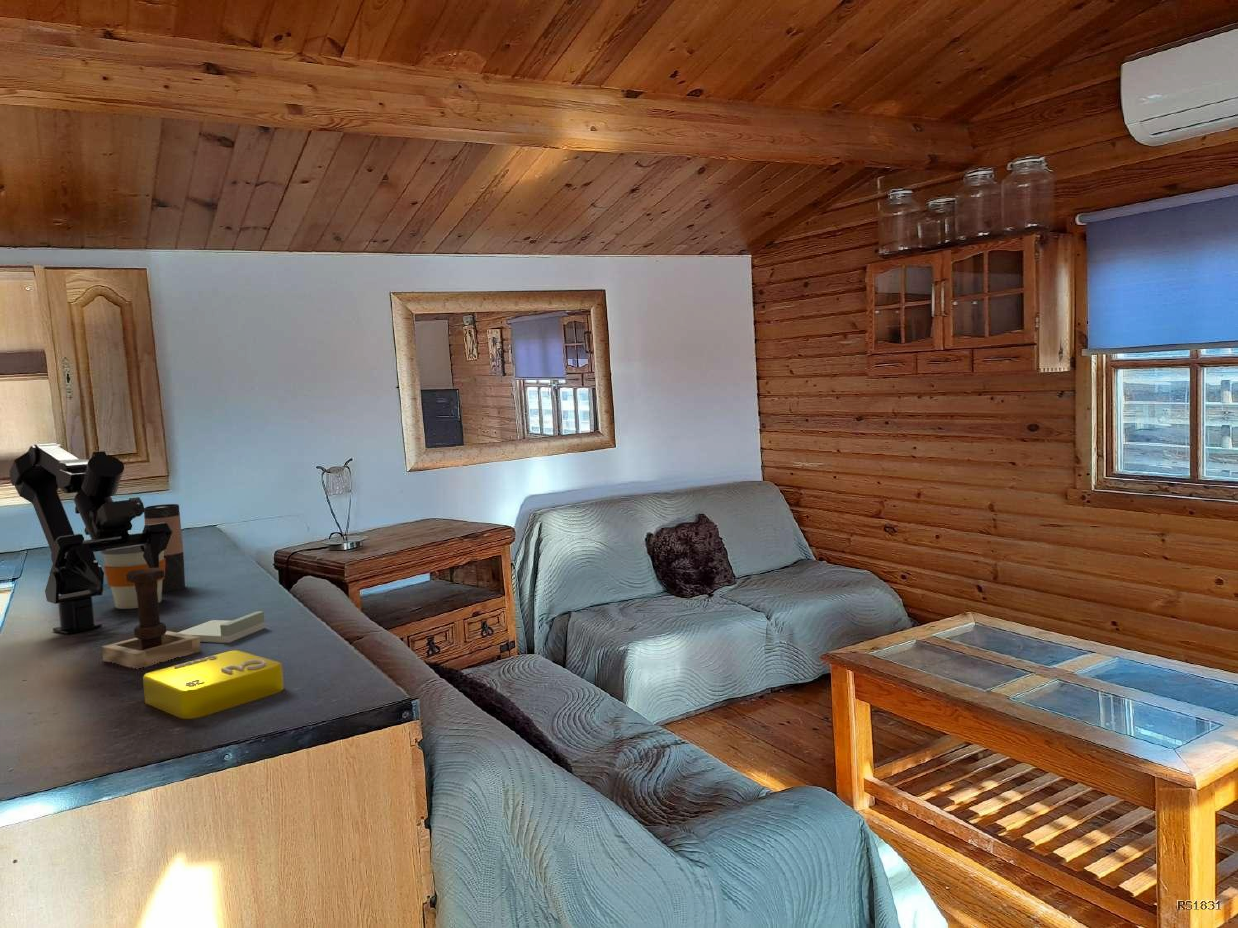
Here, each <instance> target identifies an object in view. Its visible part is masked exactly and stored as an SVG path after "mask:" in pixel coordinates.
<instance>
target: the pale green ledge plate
mask: <svg viewBox="0 0 1238 928" xmlns="http://www.w3.org/2000/svg"><path fill="white" fill-rule="evenodd" d="M265 623H266V621H265V611H263V610H262V611H260V610H259V611H254V612H252V613H249V614H247V615H244V616H241V617H239V618H238V617H237V618H236V619H232V620H222V619H221V620H219V619H211V620H209V621H206V622H203V623H200V624H198V625H194V626H192V627H190V628H187V629H183V630H181V631H179V632H177V633H181V634H186V635H191V636H196V637H200V643H201V642H203V643H206V642H207V643H222V644H225V643H227V644H228V643H232V642H234V641H236V640H239V639H241V638H243V637H246V636H250V635H252V634H254V633H256V632H259V631H261V630H263V629H265V628H266V624H265Z"/></svg>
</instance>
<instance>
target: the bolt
mask: <svg viewBox="0 0 1238 928" xmlns="http://www.w3.org/2000/svg"><path fill="white" fill-rule="evenodd" d="M126 577H127V581H128V582H132V583H135V590H136V593H137V594H136V595H137V601H138V602H137V603H138V608H137V611H138V612H137V613H138V622H139V625H136V626H135V627H134V629H133V634H134V637H135V638H137V639H141V641H142V642H141V643H142V644H141V645H142V646H141V647H142V650H146V649H149V648H153V647H157V646H161V645H162V642H161V641H162V640H161V636H163V635H164V634H165V633H166V632H167V631H168V630H167V625H166V623H164V622H163V621H161V619H160V616H161V615H160V609H159V608H160V605H159V603H160V602H158V598H157V597H158V596H157V595H158V594H157V593H158V592H157V588H158V584H157V580H158V579H161V578H164V577H165V576H164V571H163V569H161V568H145V569H138V570H133V571H130V572H129V573H128V574H127V575H126Z"/></svg>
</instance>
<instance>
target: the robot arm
mask: <svg viewBox="0 0 1238 928" xmlns="http://www.w3.org/2000/svg"><path fill="white" fill-rule="evenodd" d="M124 470H125V464H124V462H123V461H121V459H119V458H117V457H115V456H112V455H109V454H106V451H105V450H101V451H92V453H91V456H90V458H89V459H84V458H83V459H80V458H78V457H76V456H75V455H74V454H71V453H70V452H69V451H67V450H65V449H64V448H63V447H62V445H61V444H60V443H58V444H57V443H55V442H54V443H53V442H52V443H37V444H34V445H30V446H29V448H28V450H27V452H25V453H23V454H22V455H21V456H18V457H17V458H16V459H14V460H13V462H12V465H11V467H10V469H9V480H10V483H11V485H12V486H14V488H15V489H16V491H17V494H18V496H19V497H21V498H23V499H24V500H25V501H28V502H29V503H30V504H31V503H32V505H33V508H34V512H35V513H36V516H37V518H38V521H39V524H40V525H41V528H42V532H43V533H44V534H43V535H44V537H45V539H46V541H47V545H48V547H49V549H50V552H51V553H50V557H51V558H50V559H51V562H52V564H51V569H50V570H49V575H48V579H47V583H46V587H45V589H44V594H45V597H46V598H45V599H46V601H47V602H49V603H51V604H55V605H58V614H59V617H58V618H59V625H60V626H58V627H57V626H56V627H53V628H52V631H53V632H58V633H62V634H67V635H71V634H75V633H78V632H79V633H80V632H83V631H88V630H91V629H97V628H100V627H103V623H101V622H96V621H95V616H94V607H93V606H94V604H93V597H97V596H98V597H99V596H103V592H104V579H105V578H104V577H105V576H104V575H105V571H103V567H102V566H101V565H100V564H99V561H98V560H97V558H96V556H95V553H96V552H101V551H103V550H106V551H108V550H114V549H121V548H128V547H134V546H140V548H141V550H142V551H143V552H144V554H143V557H144V559H145V561H146V563H147V564H148V566H149V568H159V554H160V553H161V552H162V551H163V550H165V549H166V547H167V545H168V542H169V539H170V537H171V534H172V532H173V531H172V529H171V527H170V526H169V524H167V523H164V522H163V523H156V524H148V525H145V524H144V527H143V529H142V532H141V533H142V534H136V533H134V534H135V535H129V534H130V533H129V531H131V530H132V528H133V523H132V520H133V519H135V518H136V517H141V516H142V515H144V508H145V506H144V503H143V501H142V499H141V497H139V496H138V497H129V498H128V499H125V500H118V501H117V500H116V501H113V499H112V496H113V495H114V496H115V494H117V492H118V489H119V487H120V483H121V479H122V477H123V475H124V474H123V473H124V472H125V471H124ZM59 489H60V490H61V491H62V492H63V493H64V494H66V495H69V494H70V495H71V494H75V496H74V498H73V502H74V505H75V508H74V512H75V514H76V515H77V514H79V515H80V517H81V520H82V522H83V524H84V526H85V528H84V531H83V532H84V533H85V536H89V537H90V539H85V537H84V535H83V533H77V534H75V532H74V530H73V527H72V525H71V522H70V520H69V518H68V517H69V516H68V515H67V512H66V510H65V508H64V505H63V503H62V501H61V498H60V495H59Z"/></svg>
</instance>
